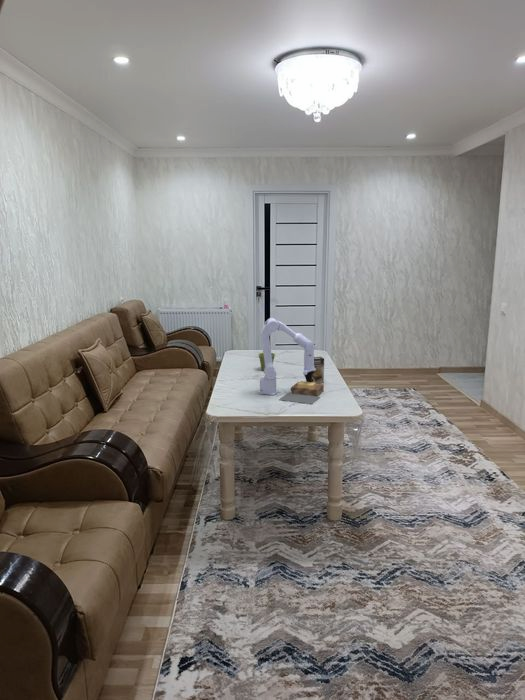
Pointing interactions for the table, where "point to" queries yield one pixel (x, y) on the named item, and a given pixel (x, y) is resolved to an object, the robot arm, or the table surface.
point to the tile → (306, 384)
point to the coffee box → (318, 370)
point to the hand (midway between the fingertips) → (308, 383)
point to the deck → (307, 390)
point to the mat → (299, 398)
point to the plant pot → (262, 362)
